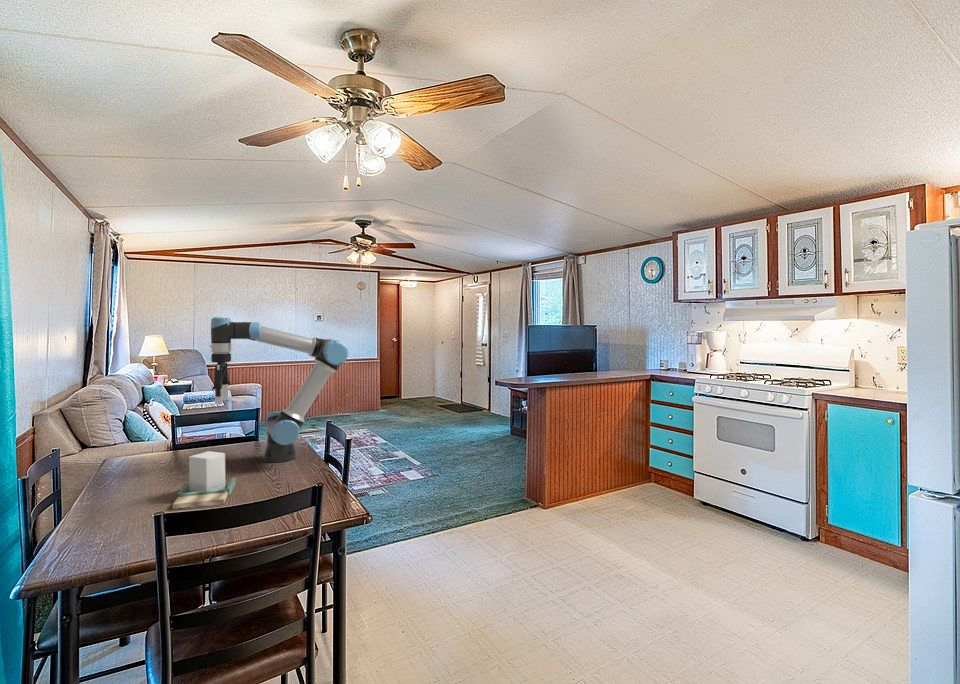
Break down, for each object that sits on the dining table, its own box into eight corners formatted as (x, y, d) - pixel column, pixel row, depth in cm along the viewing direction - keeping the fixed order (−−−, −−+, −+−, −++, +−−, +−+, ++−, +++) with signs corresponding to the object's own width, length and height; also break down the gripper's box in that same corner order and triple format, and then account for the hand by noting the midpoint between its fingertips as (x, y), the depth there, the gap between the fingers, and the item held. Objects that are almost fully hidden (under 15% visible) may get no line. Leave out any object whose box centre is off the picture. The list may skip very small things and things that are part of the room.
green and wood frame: (235, 484, 191) (235, 477, 191) (225, 504, 170) (225, 496, 170) (187, 489, 185) (187, 481, 185) (170, 509, 164) (170, 501, 164)
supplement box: (226, 490, 184) (226, 452, 184) (206, 498, 176) (206, 458, 175) (209, 487, 187) (208, 450, 187) (188, 495, 179) (188, 456, 178)
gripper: (217, 351, 213) (217, 397, 214) (204, 354, 189) (205, 406, 190) (235, 351, 215) (236, 396, 216) (225, 354, 192) (226, 405, 193)
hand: (221, 401), depth 203 cm, fingers open, 13 cm apart
